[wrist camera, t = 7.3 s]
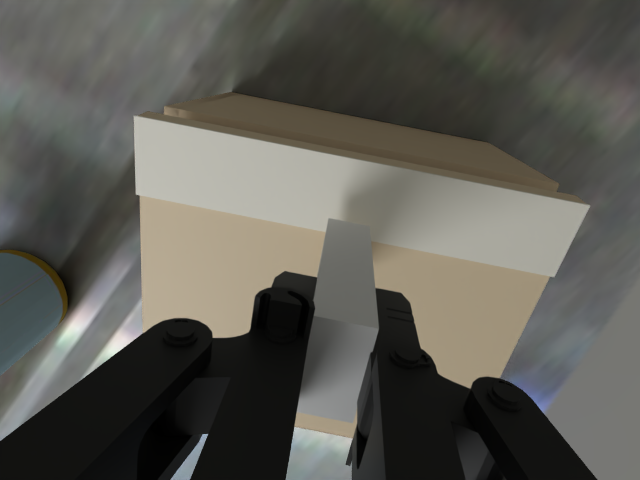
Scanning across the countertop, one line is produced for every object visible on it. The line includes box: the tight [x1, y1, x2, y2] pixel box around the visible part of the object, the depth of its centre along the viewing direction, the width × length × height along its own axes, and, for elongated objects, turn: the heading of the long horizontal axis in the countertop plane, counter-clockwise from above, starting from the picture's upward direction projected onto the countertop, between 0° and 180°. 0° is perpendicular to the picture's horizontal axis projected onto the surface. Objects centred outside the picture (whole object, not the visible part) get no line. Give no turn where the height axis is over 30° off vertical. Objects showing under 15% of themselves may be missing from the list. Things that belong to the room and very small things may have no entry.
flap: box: [134, 111, 590, 438], centre depth 19 cm, size 14×16×1 cm
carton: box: [164, 92, 559, 192], centre depth 25 cm, size 14×16×10 cm
